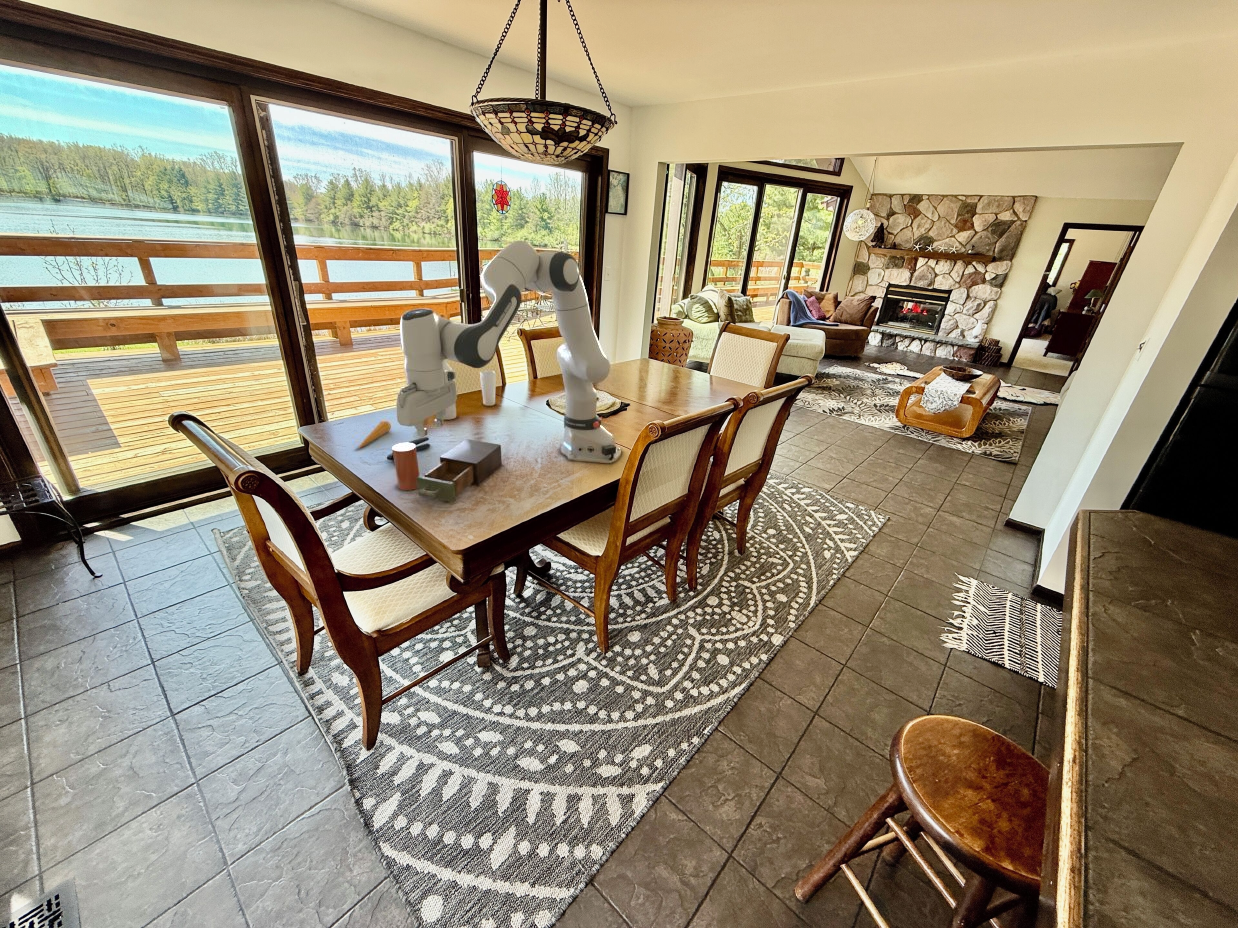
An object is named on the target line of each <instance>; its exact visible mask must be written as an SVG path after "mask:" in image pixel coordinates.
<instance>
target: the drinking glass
mask: <svg viewBox="0 0 1238 928" xmlns="http://www.w3.org/2000/svg"><path fill="white" fill-rule="evenodd" d="M479 383H480V389H481V395H482V403H483V405H484V406H487V407H491V406H494V405H496V390H497V389H496V388H497V387H496V386H497V376H496V371H495V370H489V369H488V370H486V369H485V370H481V371H479Z"/></svg>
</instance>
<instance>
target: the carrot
mask: <svg viewBox="0 0 1238 928" xmlns="http://www.w3.org/2000/svg"><path fill="white" fill-rule="evenodd" d="M391 428H392V426H391V423H390V422H389V421H388V420H387V421H386V420H381V421H380V422H379V423H378V424H377V426H375V428H374V429H373V430H372V431H371V432H370V433H369V434H368V435H367V436H366V437H365V439H364V440H363V441H362V442H361V444H359V446H358V448H357V450H359V449H361V448H363V447H365V446H367V445H369V444H370V443H372V442H373V441H375V440H376V439H378V438H380V437H382V436H384V435H385V434H387V433H388V432H389V431H390V430H391Z"/></svg>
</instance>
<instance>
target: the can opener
mask: <svg viewBox="0 0 1238 928" xmlns="http://www.w3.org/2000/svg"><path fill="white" fill-rule="evenodd" d="M429 440H430V438H429V437H428V436H424V437H420V438H416V439H414V440H410V441H405V442H404V443H413V444H415V445H416V452H417V453H418V452H421V451H424V450H426V449H428V448H430V447H431V444H430V443H427V442H428V441H429ZM425 442H426V443H425ZM386 460H388V461H391V462H394V456H393V451H392V452H391V453H389V454H388V455H387V456H386Z"/></svg>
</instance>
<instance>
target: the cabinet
mask: <svg viewBox="0 0 1238 928" xmlns="http://www.w3.org/2000/svg"><path fill="white" fill-rule="evenodd" d="M445 460H446V461H452V462H457V463H463V464H468V465H474V468H475V481H474V482H473V483H471V484H470V485H471V486H477V487H479V486H480V485H482V483H483V482H485V481H486V480H487V479H488V478H489V477H490V476H492V475H493V474H494V473H495V472H496V471H497V470H498V469H500V468H501V467H502V466H503V463H502V462H503V461H502V460H503V459H502V444H499V443H493V442H487V441H481V440H475V439H469V438H466V439H464V440H463V441H461V442H459V443H458V444H457V445H455V446H453V447H452V448H451V449H449V450H447V451H446V452H444V453H443V454H442V455H440V456H439V464H441V463H442V462H443V461H445Z"/></svg>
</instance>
